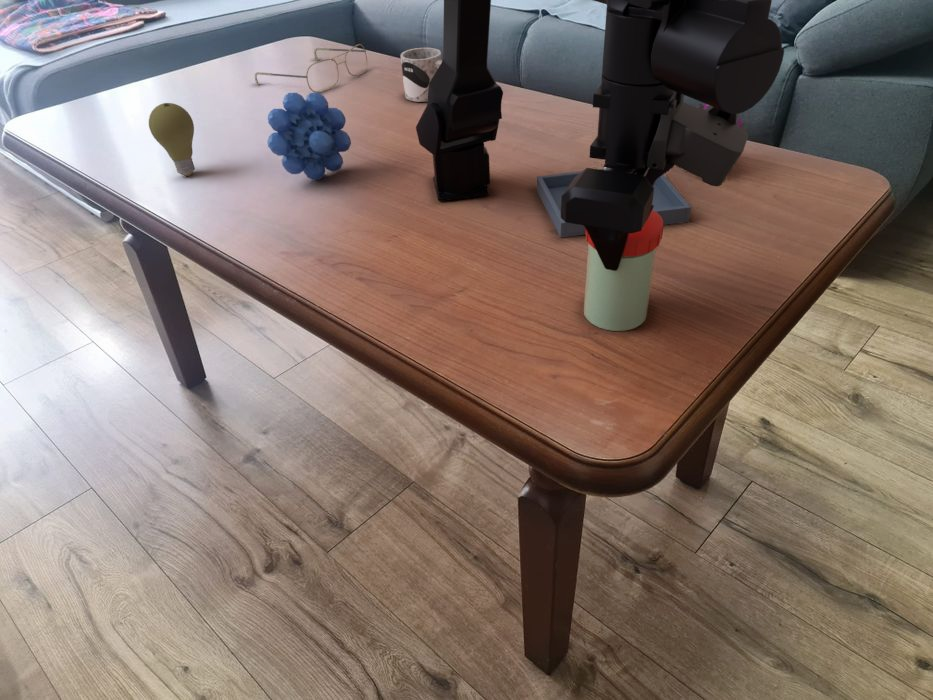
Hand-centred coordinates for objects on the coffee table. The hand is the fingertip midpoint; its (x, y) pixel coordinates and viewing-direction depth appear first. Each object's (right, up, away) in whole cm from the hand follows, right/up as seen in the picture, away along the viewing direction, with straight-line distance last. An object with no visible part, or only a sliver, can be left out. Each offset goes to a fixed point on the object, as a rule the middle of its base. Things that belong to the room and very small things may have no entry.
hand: (621, 250), depth 62 cm
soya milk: (-21, +37, +52) cm, 67 cm away
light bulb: (-53, +16, +35) cm, 66 cm away
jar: (0, -5, +4) cm, 7 cm away
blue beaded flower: (-34, +14, +31) cm, 48 cm away
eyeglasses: (-42, +42, +65) cm, 88 cm away
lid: (0, +2, -2) cm, 3 cm away
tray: (+3, +9, +21) cm, 23 cm away
